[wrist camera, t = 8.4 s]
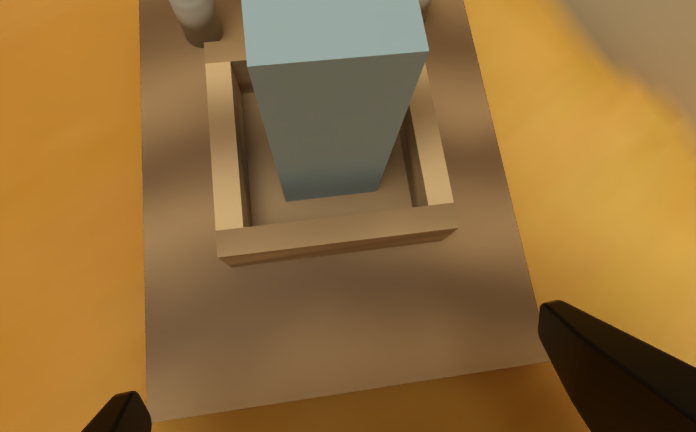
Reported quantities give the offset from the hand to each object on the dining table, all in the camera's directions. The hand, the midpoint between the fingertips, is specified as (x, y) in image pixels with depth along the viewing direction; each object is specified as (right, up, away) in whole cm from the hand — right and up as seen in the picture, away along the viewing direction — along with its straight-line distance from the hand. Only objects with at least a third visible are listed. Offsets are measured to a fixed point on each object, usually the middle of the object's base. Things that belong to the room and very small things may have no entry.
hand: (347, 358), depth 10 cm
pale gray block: (-1, +6, +10) cm, 12 cm away
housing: (-1, +6, +11) cm, 13 cm away
